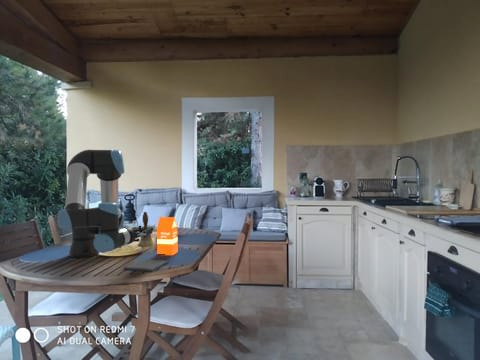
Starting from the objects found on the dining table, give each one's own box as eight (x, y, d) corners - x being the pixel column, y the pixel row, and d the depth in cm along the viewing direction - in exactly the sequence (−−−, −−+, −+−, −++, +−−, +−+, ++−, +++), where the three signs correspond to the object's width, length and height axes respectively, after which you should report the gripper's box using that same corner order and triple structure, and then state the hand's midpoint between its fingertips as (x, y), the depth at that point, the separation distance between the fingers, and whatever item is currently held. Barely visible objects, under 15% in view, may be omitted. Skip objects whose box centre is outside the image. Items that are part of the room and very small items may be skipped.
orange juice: (172, 255, 193) (171, 218, 192) (157, 254, 194) (156, 218, 193) (177, 251, 200) (177, 216, 199) (163, 251, 202) (162, 215, 201)
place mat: (123, 269, 168) (123, 267, 168) (141, 260, 182) (141, 258, 182) (152, 271, 163) (152, 269, 163) (168, 262, 178) (168, 260, 178)
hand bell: (139, 247, 167) (138, 213, 166) (135, 244, 174) (135, 211, 173) (157, 245, 170) (156, 212, 170) (152, 242, 178) (152, 210, 177)
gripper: (108, 244, 157) (138, 234, 180) (139, 246, 153) (165, 235, 175) (108, 227, 157) (138, 219, 179) (138, 228, 152) (165, 220, 175)
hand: (151, 227), depth 177 cm, fingers closed on hand bell, 2 cm apart
